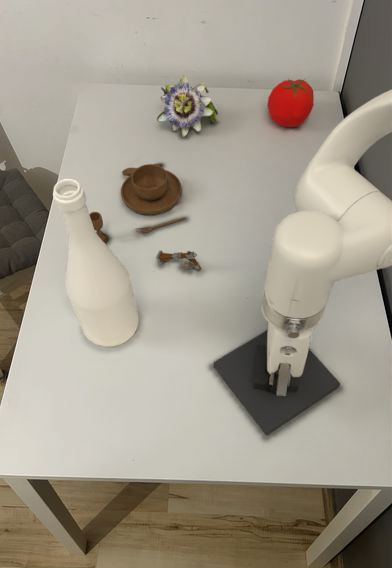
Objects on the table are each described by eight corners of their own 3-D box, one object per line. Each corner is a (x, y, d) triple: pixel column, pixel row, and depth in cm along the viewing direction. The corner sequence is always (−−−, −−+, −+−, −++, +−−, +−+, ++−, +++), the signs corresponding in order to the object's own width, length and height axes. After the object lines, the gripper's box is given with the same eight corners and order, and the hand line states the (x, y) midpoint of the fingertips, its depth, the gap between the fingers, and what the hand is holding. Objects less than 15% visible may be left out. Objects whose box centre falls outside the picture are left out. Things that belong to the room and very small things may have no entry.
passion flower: (186, 155, 113) (152, 125, 103) (180, 117, 116) (147, 85, 107) (228, 130, 107) (196, 96, 97) (221, 90, 110) (189, 54, 101)
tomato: (257, 123, 109) (261, 87, 102) (284, 100, 113) (290, 63, 106) (293, 140, 106) (299, 104, 99) (319, 116, 110) (327, 79, 103)
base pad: (282, 324, 83) (284, 314, 81) (338, 387, 78) (343, 378, 75) (213, 366, 80) (213, 356, 77) (266, 435, 74) (268, 428, 71)
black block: (297, 354, 78) (299, 348, 77) (296, 392, 75) (298, 387, 73) (255, 350, 79) (256, 344, 77) (252, 388, 76) (253, 382, 74)
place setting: (196, 217, 96) (195, 194, 91) (96, 249, 93) (89, 226, 88) (165, 160, 104) (163, 136, 99) (72, 187, 101) (65, 163, 96)
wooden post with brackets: (203, 273, 88) (192, 255, 85) (166, 273, 92) (155, 256, 89) (206, 265, 89) (196, 247, 86) (170, 266, 93) (159, 249, 90)
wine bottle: (77, 311, 86) (19, 172, 60) (130, 295, 87) (95, 151, 61) (91, 356, 81) (34, 227, 55) (146, 338, 83) (117, 203, 57)
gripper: (325, 367, 56) (300, 424, 72) (324, 249, 65) (302, 323, 80) (259, 361, 57) (248, 419, 72) (266, 244, 65) (255, 319, 81)
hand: (276, 368), depth 76 cm, fingers closed on black block, 6 cm apart
